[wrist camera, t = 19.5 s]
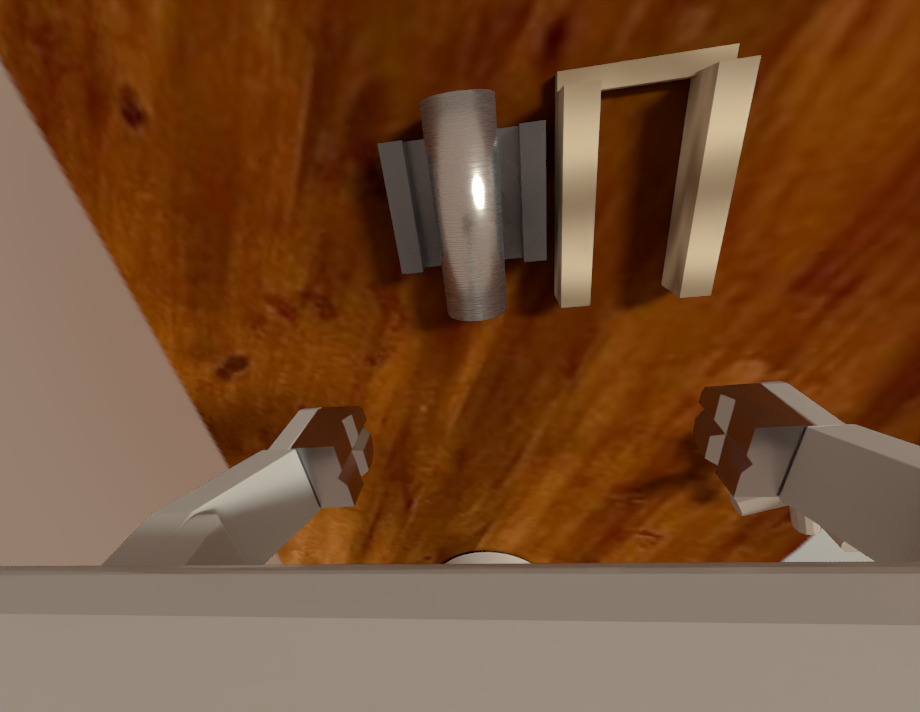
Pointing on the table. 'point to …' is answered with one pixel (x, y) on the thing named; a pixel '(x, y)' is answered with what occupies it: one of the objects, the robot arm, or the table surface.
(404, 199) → the dark blocks
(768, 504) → the pipe connector
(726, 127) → the beige u-shaped bracket
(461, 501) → the table surface
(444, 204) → the axle
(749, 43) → the table surface
